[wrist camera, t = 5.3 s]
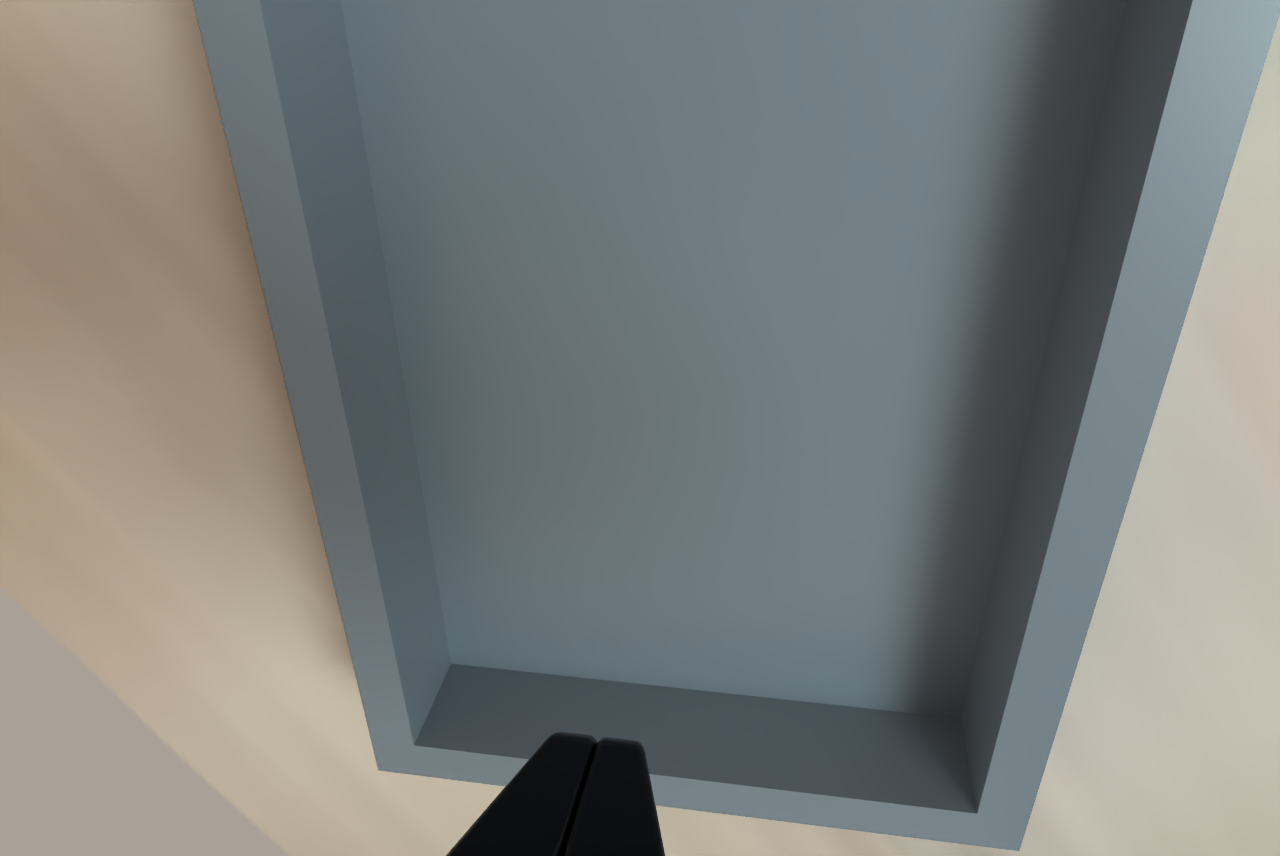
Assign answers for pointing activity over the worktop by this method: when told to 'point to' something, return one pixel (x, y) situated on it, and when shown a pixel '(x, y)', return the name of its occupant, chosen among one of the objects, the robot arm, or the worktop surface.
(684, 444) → the tray
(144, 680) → the worktop surface
